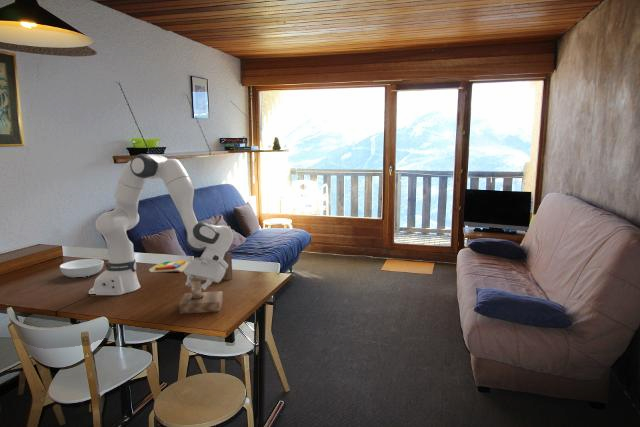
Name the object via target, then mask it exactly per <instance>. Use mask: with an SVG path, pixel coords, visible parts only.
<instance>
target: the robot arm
mask: <svg viewBox="0 0 640 427" xmlns="http://www.w3.org/2000/svg"><path fill="white" fill-rule="evenodd" d="M148 179H150V180H152V179H153V180H155V179H162V181H163V183H164V185H165V187H166V190H167V192H168V193H169V196H170V197H171V200H172V202H173V203H174V205H175V208H176V209H177V211H178V214H179V216H180V219H181V222H182V224H183V228H184V229H185V232H186V243H187V246H188V247H189V248H190V250H192V251H196V252H201V251H202V254H201V255H200V257H199V256H196V257H194V258H192V259H191V260H190V261H188V262H189V264H188V265H187V266H186V268H185V269H184V271H183V273H184V275H186V276H187V277H186V282H185V286H187V287H191V282H192V280H193V279H194V278H195V279H198V280H199V279H200V280H202V281H203V280H204V281H206V282H204V283H201V290H204V291H206V290H207V288H208V287H209V286H210V285H211V284H212V283H213V282H214V283H220V282H221V281H222V280H223V279H222V278H223V276H224V274H225V272H226V269H227V268H228V266H229V265H228V264H227V263H226V262H225V261H224V260H223V258H224V256H225V254H226V252H227V253H228V251H229V249H230V247H231V246H232V243H233V240H234V233H233V231H232V229H230V227H228V226H227V225H225V224H223V225H221V224H220V225H215V224H211V223H210V222H209V223H208V222H206V221H201V222H199V221H198V220H197V217H196V214H195V212H194V207H193V205H194V204H193V202H194V195H195V188H194V184H193V181H192V180H191V178H190V174H188V172H187V170H186V168H185V167H184V165H183V164H182V162H181V161H180V160H179V159H176V158H170V157H168V156H166V155H161V154H155V153H154V154H153V153H152V154H150V153H149V154H147V153H141V154H137V155H134V156H133V157H132V159H131V160H129V161H128V162H127V163H126V164H125V165H124V168H123V170H122V172H121V174H120V175H119V179H118V181H117V183H116V188H115V190H114V192H113V197H114V199H115V206H114V208H113V210H110V211H106V212H104V213H102V214H100V215H99V216H98V217H97V218H96V220H95V229H96V230H97V232H98V233H99V234H100V235H101V236H102V237H103V239H104V240H105V244H106V245H107V246H106V247H107V252H108V260H107V261H106V263H105V264H103V267H104V268H105V270H104V271H103V272H101V273H100V274H99V275H98V276H97V277H96V278H95V280H94V282H93V287H91V288H90V290H88V295H89V294H96V295H95V296H121V295H123V294H127V293H131V292H136V291H138V290H139V289H140V288H141V284H140V281H139V278H138V275H137V262H136V259H135V251H134V250H135V249H134V243H133V242H132V241H131V240H130V239H129V237H128V233H127V231H129V230H131V229H133V228H135V227H136V226H137V225H138V223H139V222H140V215H139V213H138V210H139V201H140V199H141V196H142V193H143V190H144V186H145V184H146V181H147V180H148Z"/></svg>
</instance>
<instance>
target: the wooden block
mask: <svg viewBox="0 0 640 427" xmlns="http://www.w3.org/2000/svg"><path fill="white" fill-rule="evenodd" d="M223 260H224V261H225V262H226V263H227V264H228V265H229V266H228V268H227V269H226V272H225V274H224V276H223V278H222V280H227V281H229V280H232V279H233V276H234V275H233V260H232V251H230V252H227V253H225V254H224V258H223Z"/></svg>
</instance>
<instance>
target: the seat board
mask: <svg viewBox="0 0 640 427" xmlns="http://www.w3.org/2000/svg"><path fill="white" fill-rule="evenodd" d="M201 296H202V298H201V300H193V299H192V292H186V293H184V294H183V296H182V298H181V300H180V302H179V304H178V306H179V308H178V309H179V314H180V315H181V314H182V315H183V314H195V313H196V314H198V313H199V314H200V313H211V312H221V308H222V304H223V291H222V290H218V291H216V290H215V291H201Z"/></svg>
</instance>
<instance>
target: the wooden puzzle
mask: <svg viewBox="0 0 640 427" xmlns="http://www.w3.org/2000/svg"><path fill="white" fill-rule="evenodd" d="M189 262H190V261H186V260H176V261H175V260H173V261H165V262H164V261H161V262H159V263H156V265H153V266H152V267H150V268H149V269H148V272H149V273H171V272H179V273H184V269H185V268H186V266H187V265H188V264H189Z"/></svg>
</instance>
